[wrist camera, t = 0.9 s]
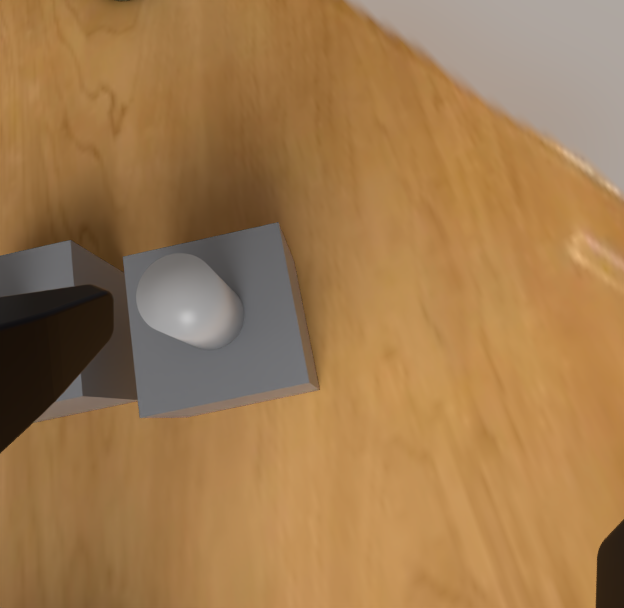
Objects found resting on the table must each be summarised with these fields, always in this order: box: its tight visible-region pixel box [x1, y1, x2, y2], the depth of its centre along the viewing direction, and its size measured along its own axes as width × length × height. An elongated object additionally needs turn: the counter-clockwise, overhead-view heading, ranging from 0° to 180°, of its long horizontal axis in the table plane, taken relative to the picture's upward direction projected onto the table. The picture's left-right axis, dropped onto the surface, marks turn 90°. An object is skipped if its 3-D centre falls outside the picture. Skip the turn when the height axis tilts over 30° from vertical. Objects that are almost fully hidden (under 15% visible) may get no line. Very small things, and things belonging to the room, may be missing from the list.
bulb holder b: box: [123, 222, 320, 418], centre depth 21 cm, size 7×7×10 cm
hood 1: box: [0, 240, 138, 423], centre depth 21 cm, size 7×7×10 cm
